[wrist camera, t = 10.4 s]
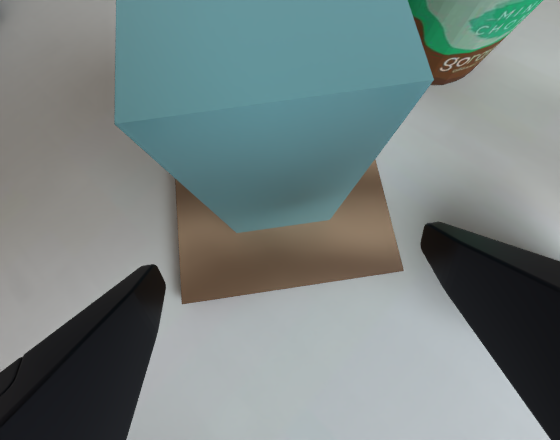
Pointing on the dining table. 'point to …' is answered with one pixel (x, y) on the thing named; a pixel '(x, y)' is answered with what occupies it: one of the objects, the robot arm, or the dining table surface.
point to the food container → (464, 31)
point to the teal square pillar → (266, 97)
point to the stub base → (285, 247)
